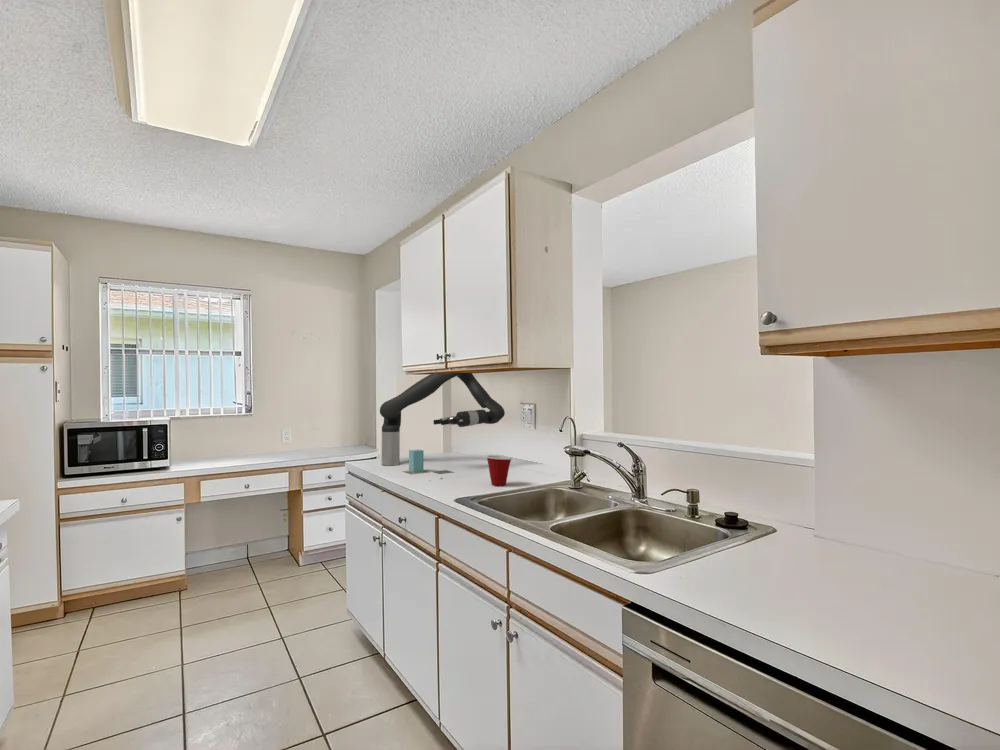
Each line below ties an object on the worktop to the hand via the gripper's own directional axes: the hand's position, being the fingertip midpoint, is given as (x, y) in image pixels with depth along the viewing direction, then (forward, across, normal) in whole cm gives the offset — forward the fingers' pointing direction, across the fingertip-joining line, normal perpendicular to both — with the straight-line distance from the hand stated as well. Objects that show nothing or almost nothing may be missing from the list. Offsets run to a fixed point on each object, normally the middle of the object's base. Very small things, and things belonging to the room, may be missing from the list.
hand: (437, 422), depth 248 cm
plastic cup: (-6, +44, +26) cm, 51 cm away
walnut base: (+13, 0, +22) cm, 26 cm away
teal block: (+13, 0, +21) cm, 25 cm away
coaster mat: (+3, +6, +24) cm, 25 cm away
